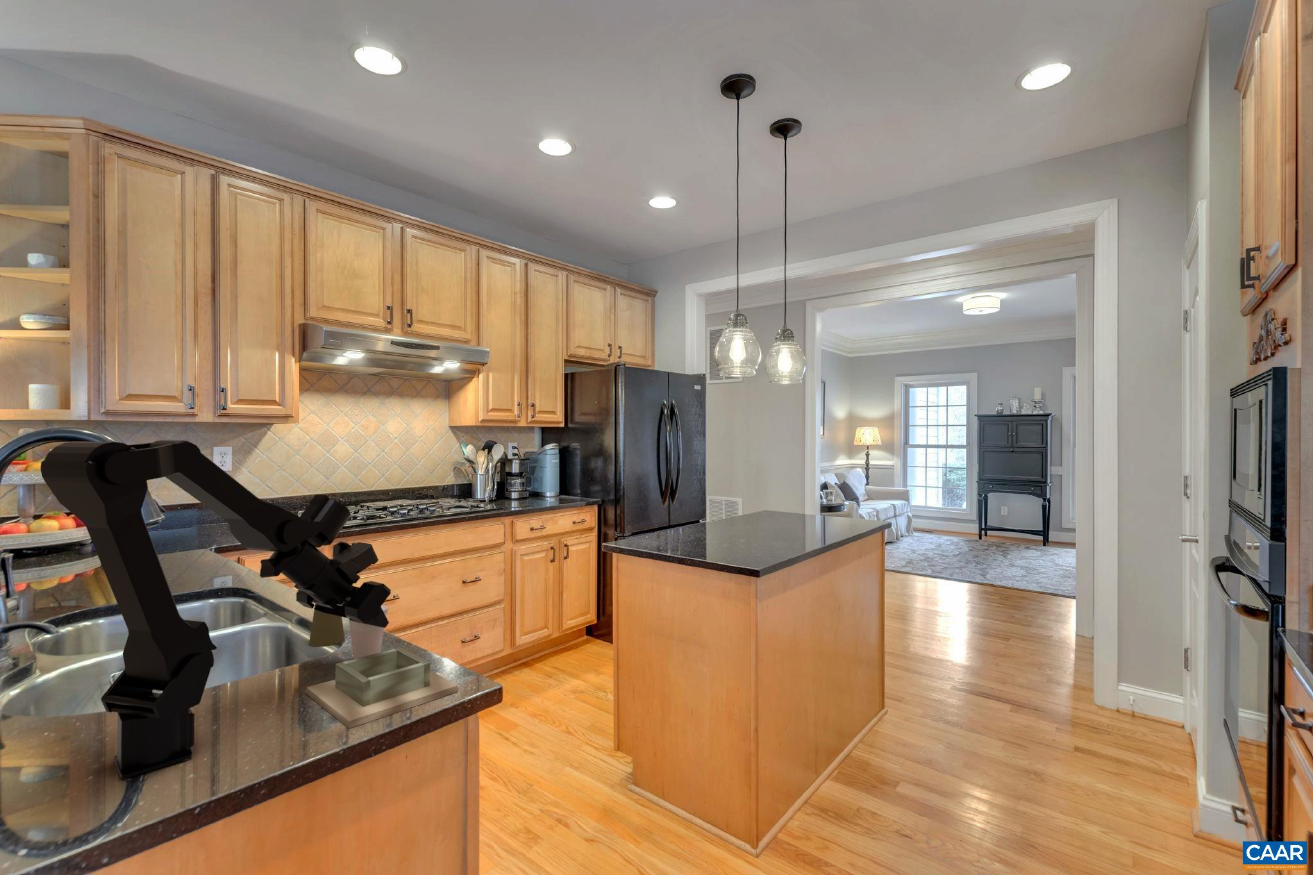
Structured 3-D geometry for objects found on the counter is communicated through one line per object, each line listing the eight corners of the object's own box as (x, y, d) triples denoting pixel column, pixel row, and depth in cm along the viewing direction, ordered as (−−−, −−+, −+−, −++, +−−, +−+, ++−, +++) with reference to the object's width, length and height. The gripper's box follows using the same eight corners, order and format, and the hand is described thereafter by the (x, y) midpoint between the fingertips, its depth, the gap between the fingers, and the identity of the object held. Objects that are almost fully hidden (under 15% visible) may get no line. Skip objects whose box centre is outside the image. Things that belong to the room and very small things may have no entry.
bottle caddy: (349, 728, 80) (349, 694, 80) (306, 693, 91) (306, 664, 91) (458, 691, 92) (458, 662, 92) (409, 664, 103) (409, 638, 103)
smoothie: (336, 669, 100) (337, 586, 101) (366, 656, 107) (367, 577, 107) (367, 674, 98) (368, 589, 98) (395, 661, 104) (396, 581, 105)
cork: (333, 647, 111) (334, 587, 111) (301, 646, 112) (302, 587, 112) (351, 636, 117) (351, 580, 117) (320, 635, 118) (321, 579, 118)
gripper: (380, 534, 94) (438, 589, 104) (315, 524, 104) (373, 575, 114) (330, 595, 88) (397, 648, 97) (265, 578, 97) (331, 628, 107)
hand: (374, 621), depth 104 cm, fingers closed on smoothie, 6 cm apart
